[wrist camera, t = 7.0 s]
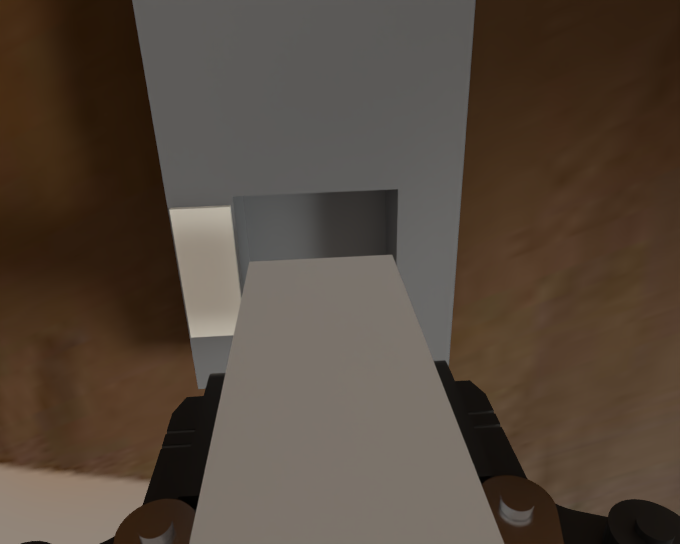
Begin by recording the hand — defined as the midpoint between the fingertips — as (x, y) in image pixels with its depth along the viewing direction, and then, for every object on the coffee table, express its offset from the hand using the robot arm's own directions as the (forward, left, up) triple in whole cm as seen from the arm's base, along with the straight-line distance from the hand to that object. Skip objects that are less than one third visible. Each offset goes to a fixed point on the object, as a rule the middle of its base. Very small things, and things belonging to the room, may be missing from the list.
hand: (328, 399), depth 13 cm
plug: (0, 0, -4) cm, 4 cm away
